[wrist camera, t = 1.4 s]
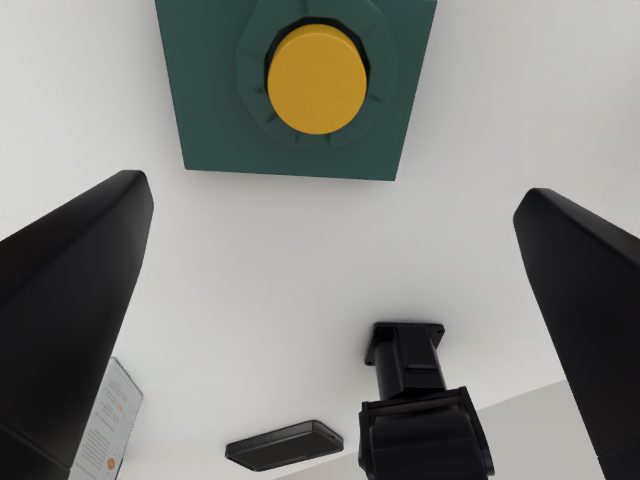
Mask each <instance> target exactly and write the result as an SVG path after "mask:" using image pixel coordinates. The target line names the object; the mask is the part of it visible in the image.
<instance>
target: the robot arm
mask: <svg viewBox="0 0 640 480" xmlns="http://www.w3.org/2000/svg"><path fill="white" fill-rule="evenodd" d="M153 210H154V202H153V198H152V194H151V191H150V187H149V184H148V181H147V177H146V175H145V173H144V172H142V171H141V170H122V171H120V172H118V173H117V174H115V175H113V176H111V177H110V178H108V179H106V180H105V181H103V182H101V183H99V184H98V185H96V186H94V187H93V188H91V189H89V190H88V191H86V192H84V193H82V194H81V195H79V196H77V197H76V198H74V199H72V200H70V201H69V202H67V203H65V204H64V205H62V206H60V207H58V208H57V209H55V210H53V211H52V212H50V213H48V214H46V215H45V216H43V217H41V218H40V219H38V220H36V221H34V222H33V223H31V224H29V225H28V226H26V227H24V228H23V229H21V230H19V231H17V232H16V233H14V234H12V235H11V236H9V237H7V238H5V239H4V240H2V241H0V480H68V478H69V475H70V472H71V470H70V469H71V468H72V466H73V463H74V460H75V457H76V454H77V451H78V448H79V446H80V443H81V440H82V437H83V434H84V431H85V428H86V425H87V423H88V420H89V417H90V414H91V411H92V408H93V405H94V402H95V400H96V397H97V394H98V391H99V388H100V385H101V382H102V380H103V377H104V374H105V371H106V368H107V365H108V362H109V359H110V357H111V354H112V351H113V348H114V345H115V342H116V339H117V336H118V334H119V331H120V328H121V325H122V322H123V319H124V316H125V313H126V311H127V308H128V305H129V302H130V299H131V296H132V293H133V290H134V288H135V285H136V282H137V279H138V276H139V273H140V270H141V267H142V263H143V258H144V254H145V249H146V244H147V239H148V234H149V229H150V225H151V220H152V215H153ZM513 224H514V228H515V232H516V236H517V240H518V243H519V247H520V251H521V255H522V259H523V263H524V266H525V270H526V273H527V276H528V279H529V282H530V285H531V287H532V290H533V292H534V295H535V298H536V300H537V303H538V305H539V308H540V311H541V313H542V316H543V318H544V321H545V323H546V326H547V329H548V331H549V334H550V336H551V339H552V342H553V344H554V347H555V349H556V352H557V354H558V357H559V360H560V362H561V365H562V367H563V370H564V372H565V375H566V378H567V380H568V382H569V385H570V388H571V391H572V393H573V396H574V398H575V401H576V403H577V406H578V409H579V411H580V414H581V416H582V419H583V422H584V424H585V427H586V429H587V432H588V434H589V437H590V440H591V442H592V445H593V447H594V450H595V453H596V455H597V456H598V461H599V464H600V466H601V469H602V471H603V474H604V477H605V479H606V480H640V239H639V238H637V237H635V236H634V235H632V234H630V233H628V232H626V231H625V230H623V229H621V228H619V227H617V226H616V225H614V224H612V223H610V222H608V221H607V220H605V219H603V218H601V217H599V216H598V215H596V214H594V213H592V212H590V211H589V210H587V209H585V208H583V207H582V206H580V205H578V204H576V203H574V202H573V201H571V200H569V199H567V198H565V197H564V196H562V195H560V194H558V193H556V192H555V191H553V190H551V189H547V188H532V189H530V190H529V191H528V192H527V193H526V195H525V196H524V198H523V200H522V201H521V203H520V205H519V206H518V208H517V210H516V211H515V213H514V216H513ZM444 332H445V329H444V326H443V325H440V324H412V323H376V324H374V326H373V330H372V334H371V337H370V341H369V345H368V348H367V352H366V356H365V359H364V360H365V365H367V366H375V367H376V374H377V380H378V387H379V394H380V401H374V402H368V401H366V402H362V411H361V412H360V413H359V423H360V443H359V456H358V461H359V466H360V467H361V468H362V469H363V470H364V471H365V472H366V475H367V478H368V480H488V477H487V476H494V475H495V472H494V466H493V462H492V458H491V454H490V450H489V447H488V444H487V440H486V437H485V434H484V432H483V429H482V426H481V424H480V421H479V419H478V416H477V413H476V411H475V408H474V406H473V403H472V401H471V398H470V396H469V393H468V391H467V388H466V386H463V387H459V388H458V389H451V390H447V388H446V384H445V381H444V377H443V374H442V371H441V367H440V364H439V360H438V357H437V353H436V349H437V347H438V345H439V343H440V340H441V338H442V336H443V334H444Z"/></svg>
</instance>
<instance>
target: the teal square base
mask: <svg viewBox="0 0 640 480" xmlns="http://www.w3.org/2000/svg"><path fill="white" fill-rule="evenodd" d="M155 5H156V10H157V16H158V21H159V27H160V33H161V38H162V44H163V49H164V55H165V60H166V66H167V71H168V77H169V82H170V88H171V93H172V99H173V105H174V110H175V116H176V121H177V127H178V132H179V138H180V143H181V149H182V154H183V160H184V166H185V169H186V170H203V171H221V172H239V173H257V174H274V175H292V176H310V177H328V178H346V179H364V180H382V181H395V178H396V174H397V170H398V166H399V161H400V157H401V153H402V149H403V144H404V140H405V136H406V132H407V127H408V123H409V119H410V115H411V111H412V106H413V102H414V98H415V94H416V89H417V85H418V81H419V77H420V72H421V68H422V64H423V60H424V56H425V51H426V47H427V43H428V39H429V34H430V30H431V26H432V22H433V18H434V13H435V9H436V5H437V0H155ZM309 24H324V25H329V26H332V27H334V28H336V29H338V30H340V31H341V32H343V33H344V34H345V35H346V36H348V37H349V39H350V40H351V41H352V42H353V44H354V45H355V47H356V48H357V51H358V53H359V55H360V58H361V61H362V63H363V66H364V69H365V74H366V93H365V98H364V100H363V103H362V105H361V107H360V109H359V111H358V113H357V114H356V115H355V117H354V118H353V119H352V120H351V121H350V122H349V123H348V124H346V125H345V126H343V127H342V128H340V129H338V130H336V131H333V132H330V133H326V134H308V133H304V132H301V131H298V130H296V129H294V128H292V127H291V126H289V125H288V124H286V123H285V122H284V121H283V120H282V119H281V118H280V116H279V115H278V114H277V112H276V111H275V109H274V107H273V105H272V103H271V100H270V97H269V93H268V74H269V70H270V66H271V63H272V59H273V56H274V53H275V51H276V49H277V47H278V45H279V44H280V42H281V41H282V40H283V39H284V38H285V37H286V36H287V35H288V34H289V33H290V32H292V31H293V30H295V29H297V28H299V27H301V26H305V25H309Z"/></svg>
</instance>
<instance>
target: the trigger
mask: <svg viewBox="0 0 640 480" xmlns="http://www.w3.org/2000/svg"><path fill="white" fill-rule="evenodd" d="M268 93H269V97H270V100H271V103H272V105H273V107H274V109H275V111H276V112H277V114H278V115H279V116H280V118H281V119H282V120H283V121H284V122H285V123H286V124H288V125H289V126H291V127H292V128H294V129H296V130H298V131H301V132H304V133H308V134H326V133H330V132H333V131H336V130H338V129H340V128H342V127H343V126H345V125H346V124H348V123H349V122H350V121H351V120H352V119H353V118H354V117H355V115H356V114H357V113H358V111H359V109H360V107H361V105H362V103H363V100H364V98H365V93H366V74H365V69H364V66H363V63H362V61H361V58H360V55H359V53H358V51H357V48H356V47H355V45H354V44H353V42H352V41H351V40H350V39H349V37H348V36H346V35H345V34H344V33H343V32H341V31H340V30H338V29H336V28H334V27H332V26H329V25H324V24H309V25H305V26H301V27H299V28H297V29H295V30H293V31H292V32H290V33H289V34H288V35H287V36H286V37H285V38H284V39H283V40H282V41H281V42H280V44H279V45H278V47H277V49H276V51H275V53H274V56H273V59H272V63H271V66H270V70H269V74H268Z"/></svg>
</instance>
